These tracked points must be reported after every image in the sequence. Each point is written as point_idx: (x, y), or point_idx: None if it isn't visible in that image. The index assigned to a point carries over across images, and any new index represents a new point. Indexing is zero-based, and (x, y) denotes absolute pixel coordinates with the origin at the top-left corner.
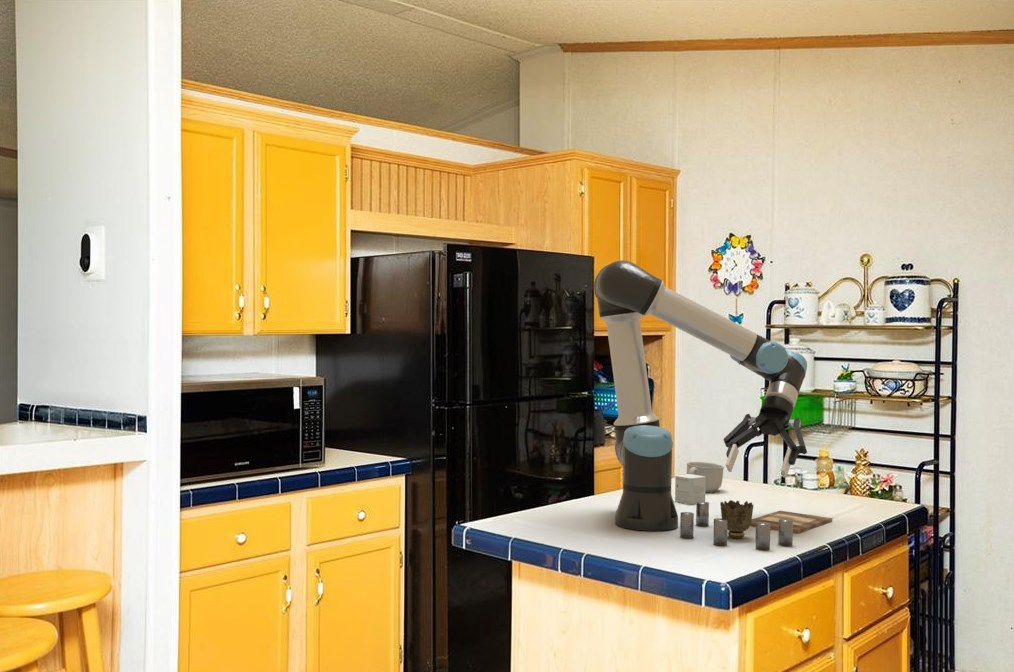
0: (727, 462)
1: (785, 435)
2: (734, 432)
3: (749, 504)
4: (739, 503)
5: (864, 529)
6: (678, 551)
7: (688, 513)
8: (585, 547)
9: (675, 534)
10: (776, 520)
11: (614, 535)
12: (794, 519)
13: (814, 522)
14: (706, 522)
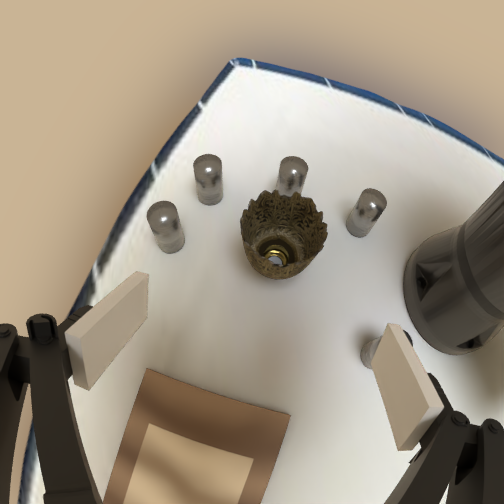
0: (398, 330)
1: (58, 436)
2: (489, 476)
3: (255, 252)
4: (287, 267)
5: (33, 456)
6: (327, 140)
7: (371, 198)
8: (422, 133)
9: (383, 241)
10: (212, 462)
11: (442, 199)
12: (170, 491)
13: (121, 473)
14: (366, 346)
